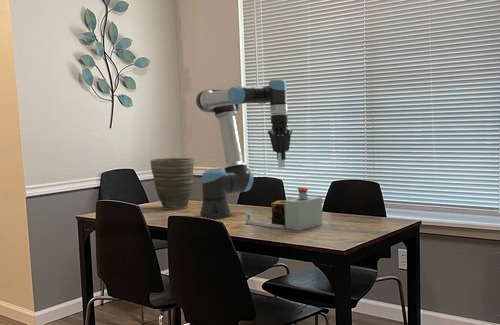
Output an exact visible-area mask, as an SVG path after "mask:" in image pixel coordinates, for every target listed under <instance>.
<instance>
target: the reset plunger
mask: <svg viewBox="0 0 500 325" xmlns="http://www.w3.org/2000/svg"><path fill="white" fill-rule="evenodd" d="M297 191H298V198H299V200H307V196H308V191H309V187H307V186H300V187H298V188H297Z"/></svg>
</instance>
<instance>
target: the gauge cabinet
mask: <svg viewBox="0 0 500 325" xmlns="http://www.w3.org/2000/svg"><path fill="white" fill-rule="evenodd" d="M283 201H284V202H285V228H284V229H289V230H294V231H295V230H296V231H302V230H306V229H309V228H313V227H317V226H320V225H323V199H322V197H319V196H310V195H307V200H299V197H297V198H292V199H287V200H283Z"/></svg>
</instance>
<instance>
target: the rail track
mask: <svg viewBox="0 0 500 325" xmlns="http://www.w3.org/2000/svg"><path fill="white" fill-rule="evenodd" d="M245 222H246V223H245V224H247V225H254V226H259V227H260V226H262V227H266V228H273V229H281V230H284V229H286V228H285V225H281V224H274V223H272V222H265V221H264V222H263V221H259V220H252V219H251V216H250V214H245Z"/></svg>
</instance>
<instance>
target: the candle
mask: <svg viewBox="0 0 500 325" xmlns="http://www.w3.org/2000/svg"><path fill="white" fill-rule="evenodd" d="M284 201H285V200H275V201H274V202H271V223H274V224H281V225H285V202H284Z"/></svg>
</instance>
